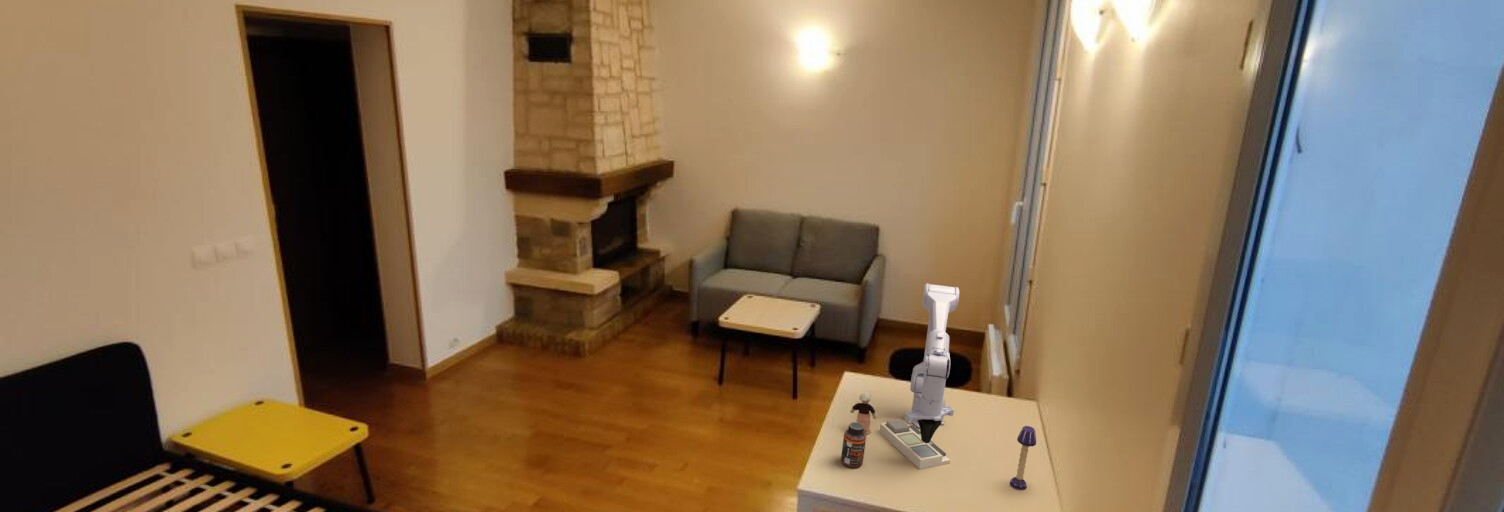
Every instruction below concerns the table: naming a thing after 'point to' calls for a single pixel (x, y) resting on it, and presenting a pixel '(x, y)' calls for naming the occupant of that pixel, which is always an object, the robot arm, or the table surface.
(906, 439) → the sage key
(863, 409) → the grandmother figurine
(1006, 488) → the table surface
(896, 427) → the grey key
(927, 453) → the slate key
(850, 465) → the supplement bottle
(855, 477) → the table surface
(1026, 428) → the toy lamp
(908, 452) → the keypad
